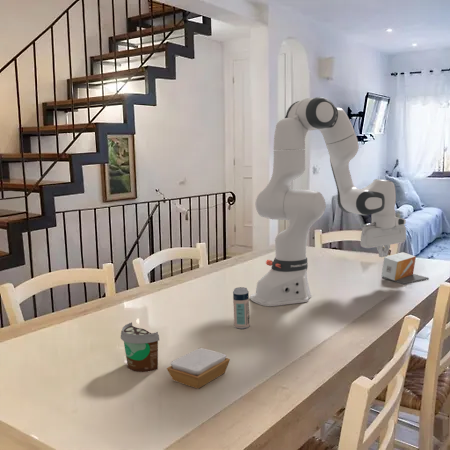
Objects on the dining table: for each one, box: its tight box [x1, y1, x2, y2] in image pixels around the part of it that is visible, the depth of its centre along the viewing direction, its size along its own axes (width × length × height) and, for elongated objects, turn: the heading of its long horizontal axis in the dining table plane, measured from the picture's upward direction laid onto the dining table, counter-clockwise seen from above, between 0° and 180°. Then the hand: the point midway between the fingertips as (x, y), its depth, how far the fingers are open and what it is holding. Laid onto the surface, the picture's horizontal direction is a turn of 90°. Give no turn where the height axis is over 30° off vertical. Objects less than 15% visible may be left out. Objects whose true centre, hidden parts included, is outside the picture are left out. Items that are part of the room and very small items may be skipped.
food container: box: [120, 322, 160, 373], centre depth 131 cm, size 12×6×10 cm, turn 44°
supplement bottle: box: [232, 286, 250, 330], centre depth 157 cm, size 5×5×12 cm
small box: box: [381, 251, 417, 282], centre depth 207 cm, size 8×6×13 cm
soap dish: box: [166, 347, 231, 389], centre depth 124 cm, size 12×10×5 cm
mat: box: [381, 273, 430, 285], centre depth 207 cm, size 13×12×1 cm
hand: (383, 256), depth 200 cm, fingers closed
